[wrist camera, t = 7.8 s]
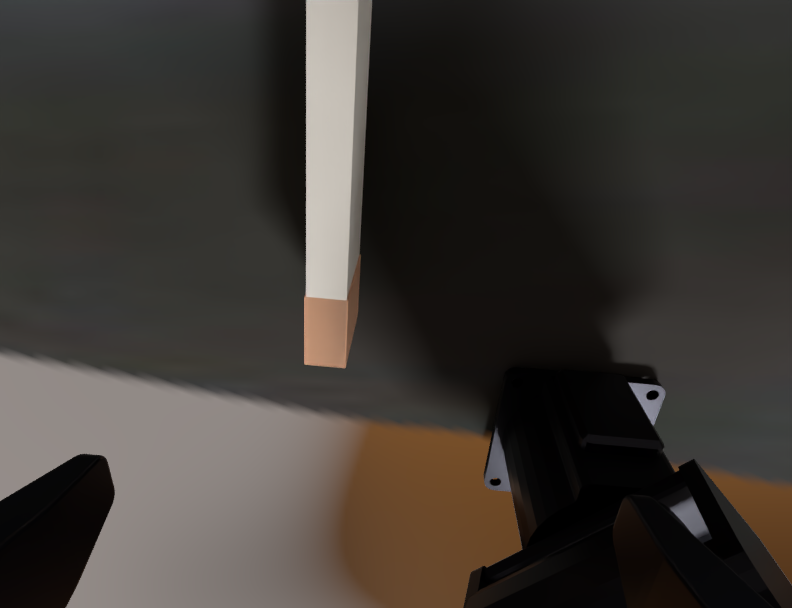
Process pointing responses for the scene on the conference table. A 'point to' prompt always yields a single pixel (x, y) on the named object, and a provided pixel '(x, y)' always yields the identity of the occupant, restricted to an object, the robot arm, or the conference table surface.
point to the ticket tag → (334, 173)
